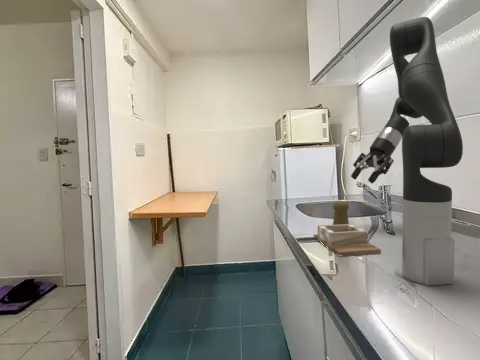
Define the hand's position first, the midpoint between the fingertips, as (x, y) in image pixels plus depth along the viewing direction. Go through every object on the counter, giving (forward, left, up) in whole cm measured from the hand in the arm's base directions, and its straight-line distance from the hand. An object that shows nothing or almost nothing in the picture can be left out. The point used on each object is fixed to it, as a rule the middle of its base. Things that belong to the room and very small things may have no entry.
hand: (361, 180), depth 116 cm
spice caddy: (-16, +14, -18) cm, 28 cm away
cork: (0, +8, -18) cm, 20 cm away
